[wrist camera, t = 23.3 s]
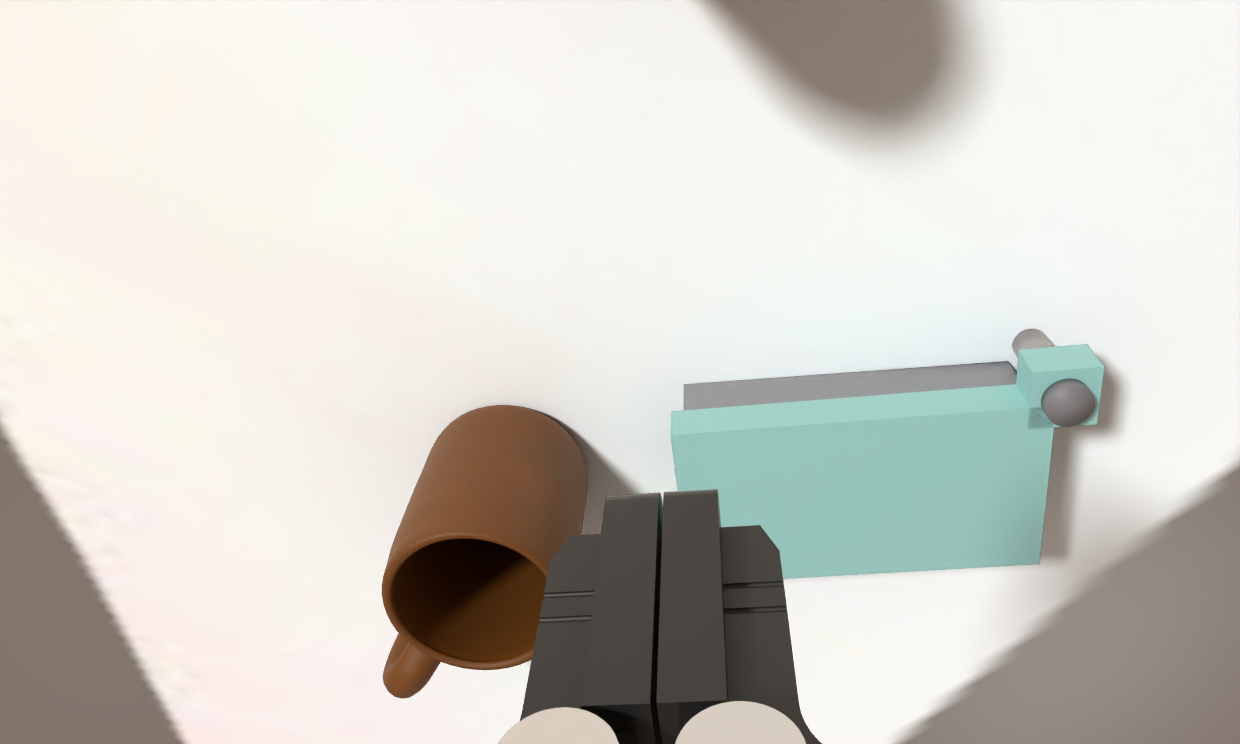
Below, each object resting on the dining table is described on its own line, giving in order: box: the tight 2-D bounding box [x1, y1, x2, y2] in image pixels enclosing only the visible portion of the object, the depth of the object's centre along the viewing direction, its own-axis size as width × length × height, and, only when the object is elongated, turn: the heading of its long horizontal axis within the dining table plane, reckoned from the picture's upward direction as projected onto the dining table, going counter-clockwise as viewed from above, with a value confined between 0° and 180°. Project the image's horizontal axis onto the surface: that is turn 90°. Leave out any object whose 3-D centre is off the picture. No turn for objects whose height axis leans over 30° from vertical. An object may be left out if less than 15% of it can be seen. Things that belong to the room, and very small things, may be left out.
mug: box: [382, 405, 587, 698], centre depth 43 cm, size 12×8×9 cm, turn 147°
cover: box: [671, 344, 1104, 579], centre depth 40 cm, size 17×10×2 cm, turn 98°
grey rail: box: [684, 329, 1053, 410], centre depth 43 cm, size 16×8×2 cm, turn 97°
